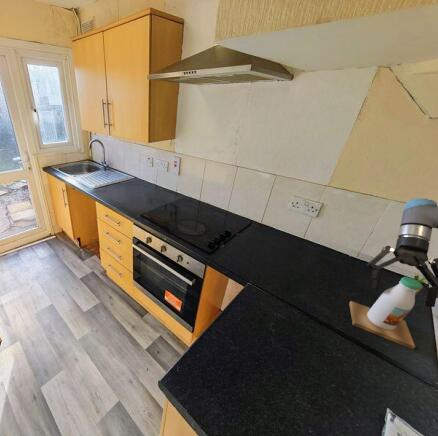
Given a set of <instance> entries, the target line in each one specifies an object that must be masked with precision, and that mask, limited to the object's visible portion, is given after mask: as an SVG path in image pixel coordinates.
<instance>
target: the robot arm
mask: <svg viewBox="0 0 438 436" xmlns="http://www.w3.org/2000/svg"><path fill="white" fill-rule="evenodd" d="M433 229H438V203H437V201H435V200H433V199H429V198H422V197H420V198H411V199H410V200H408V201H406V203H405V204H404V207H403V211H402V215H401V220H400V225H399V230H398V234H397V239H396V243H395V248H394V247H391V245H386V246H383V247H382V249H381V251H380V252H379V253H378V254H377V255H376V256H375V257H373V258H372V259H371V260H370V261H369V262H368V263H366V268H369V269H371V275H370V278H371V279H372V280H373V281H372V286H371V289H372V290H379V288H380V284H381V279H382V276H383V270H382V269H383V268H386V267H388V266H390V265H392V264H394V263H397V262H399V263H400V264H402V265H407V266H409V267H415V268H416V270H418V271H419V272H420V273H421V275H422V277H423V278H426V279H425V281H426V282H428V284H429V285H430V286H428V290H427V295H426V300H425V307H428V308H435V307H436V301H437V299H438V257H436V258H434V257H429V256H428V253H429V248H430V241H431V238H432V232H433ZM391 253H392V254H393V255H394V257H392V258H390V259H389V260H387V261H384V262H382V263H379V262H380V261H381V260H382V259H383V258H384V257H386V256H387V255H388V254H391ZM426 262H428V264H427V263H426ZM377 263H379V264H378V265H377ZM429 265H430V268H429ZM430 269H431V270H432V271H431V270H430Z"/></svg>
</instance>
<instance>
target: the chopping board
mask: <svg viewBox="0 0 438 436" xmlns="http://www.w3.org/2000/svg"><path fill="white" fill-rule="evenodd" d="M348 304H349V305H348V306H349V311H350V316H351V323H352V326H354V327H357V328H359V329H361V330H364V331H367V332H369V333H372V334H373V335H376V336H379V337H382V338H384V339H387V340H388V341H391V342H393V343H396V344H398V345H401V346H403V347H406V348H408V349H411V350H414V349H416V345H415V342H414V339H413V338H412V334H411V331H410V330H409V327H408V325H407V322H406V320H404V319H403V320H402V321H401V322H400V323H399V324H398V325H397V327H396V328H395V329H393V330H386V329H382V328H380V327H378V326H376V325H375V324H373V323H372V322H371V321H370V320H369V319H368V317H367V313H368V312H369V310H370V309H371V307H369V306H366V305H363V304H361V303H358V302H355V301H352V300H350V301H349V303H348Z"/></svg>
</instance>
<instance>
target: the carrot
mask: <svg viewBox="0 0 438 436" xmlns="http://www.w3.org/2000/svg"><path fill="white" fill-rule="evenodd" d="M419 278H420V275H419V274H417V273H415V274H414V276H413V279H415V280H417V281H418V282H420V283H421V284H422V283H424V284H426V283H427V280H426V278H425V277H422V278H421V279H419ZM422 289H424V286H423V285H422V287H421V288H420V289H419V291H416V293H415V296H416V295H418V294H419V293H420V291H421V290H422Z"/></svg>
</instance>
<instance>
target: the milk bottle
mask: <svg viewBox="0 0 438 436" xmlns="http://www.w3.org/2000/svg"><path fill="white" fill-rule="evenodd" d="M422 286H423V284H422V282H421V283H420V282H418V281H417V280H415V279H414V277H413V278H412V277H409V276H403V277H401V278H400V281H398V284H396V285H395V286H392V287H389V288H387V289H386V290H384V291H383V292H382V293H381V294H380V295H379V297H378V298H377V299H376V301H375V302H374V303H373V305H372V306H371V307H370V308H371V309H370V310H369V312H368V313H367V317H368V319H369V320H370V321H371V322H372V323H373V324H375V325H376V326H378V327H380V328H382V329H386V330H393V329H395V328H396V327H397V325H398V324H399V323H400V322H401V321H402V320H404V319H405V317H406V316H407V315H408V314H410V312H411V311H412V309H413V308H414V306H415V303H416V295H415V293H416V291H419V289H420V288H421V287H422ZM419 292H420V291H419Z"/></svg>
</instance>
